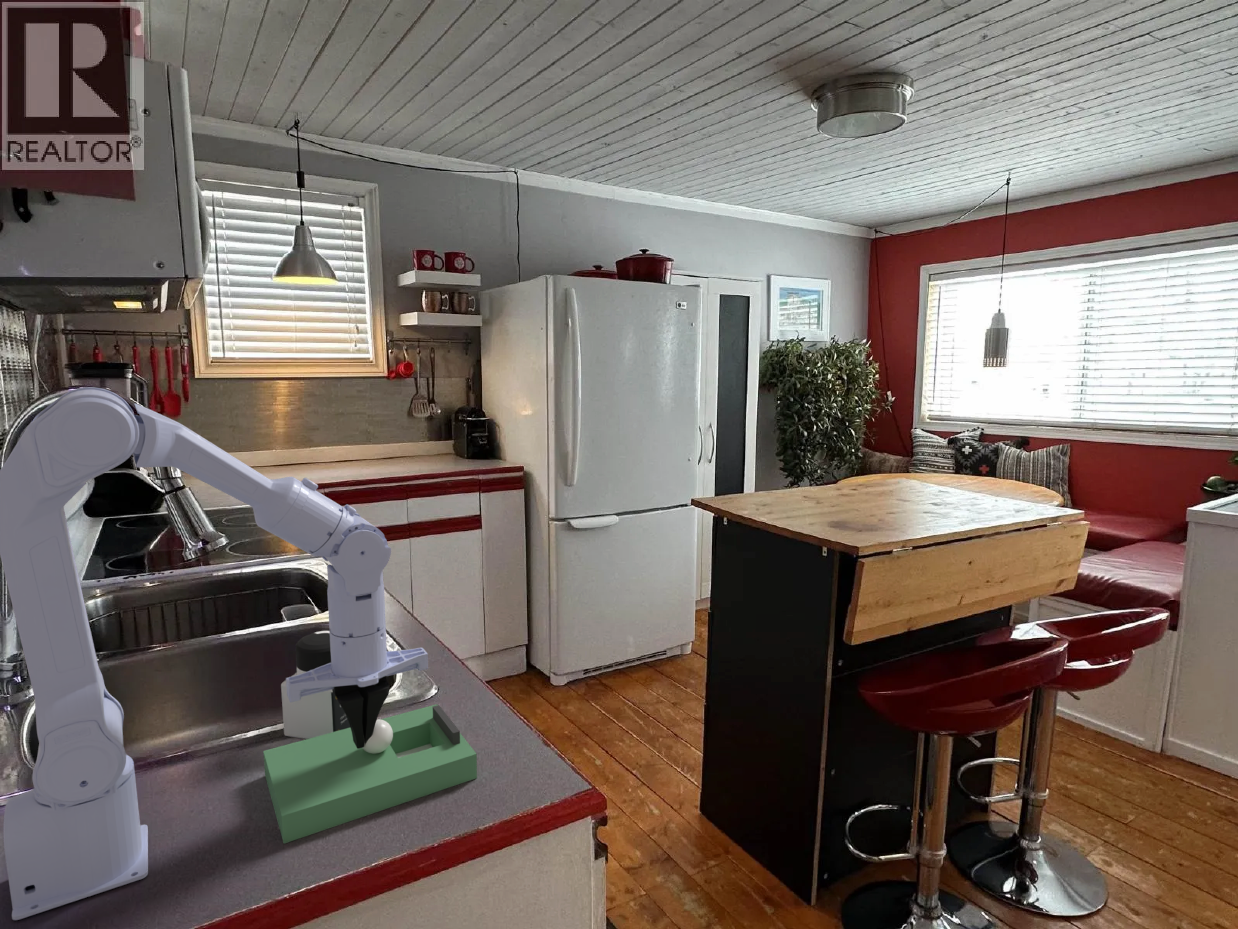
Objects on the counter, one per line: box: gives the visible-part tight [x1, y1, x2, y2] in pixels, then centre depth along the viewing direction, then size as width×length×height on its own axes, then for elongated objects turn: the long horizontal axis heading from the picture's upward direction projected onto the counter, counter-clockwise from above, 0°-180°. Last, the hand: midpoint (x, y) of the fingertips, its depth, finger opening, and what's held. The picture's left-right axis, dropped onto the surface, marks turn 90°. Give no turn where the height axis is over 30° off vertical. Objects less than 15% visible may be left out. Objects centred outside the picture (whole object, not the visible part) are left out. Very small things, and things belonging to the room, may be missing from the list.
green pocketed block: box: [262, 704, 478, 844], centre depth 79 cm, size 20×13×4 cm, turn 124°
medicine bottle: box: [280, 630, 350, 740], centre depth 89 cm, size 7×7×12 cm
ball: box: [363, 718, 393, 754], centre depth 79 cm, size 4×4×4 cm
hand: (363, 742), depth 78 cm, fingers closed, pressing on ball
